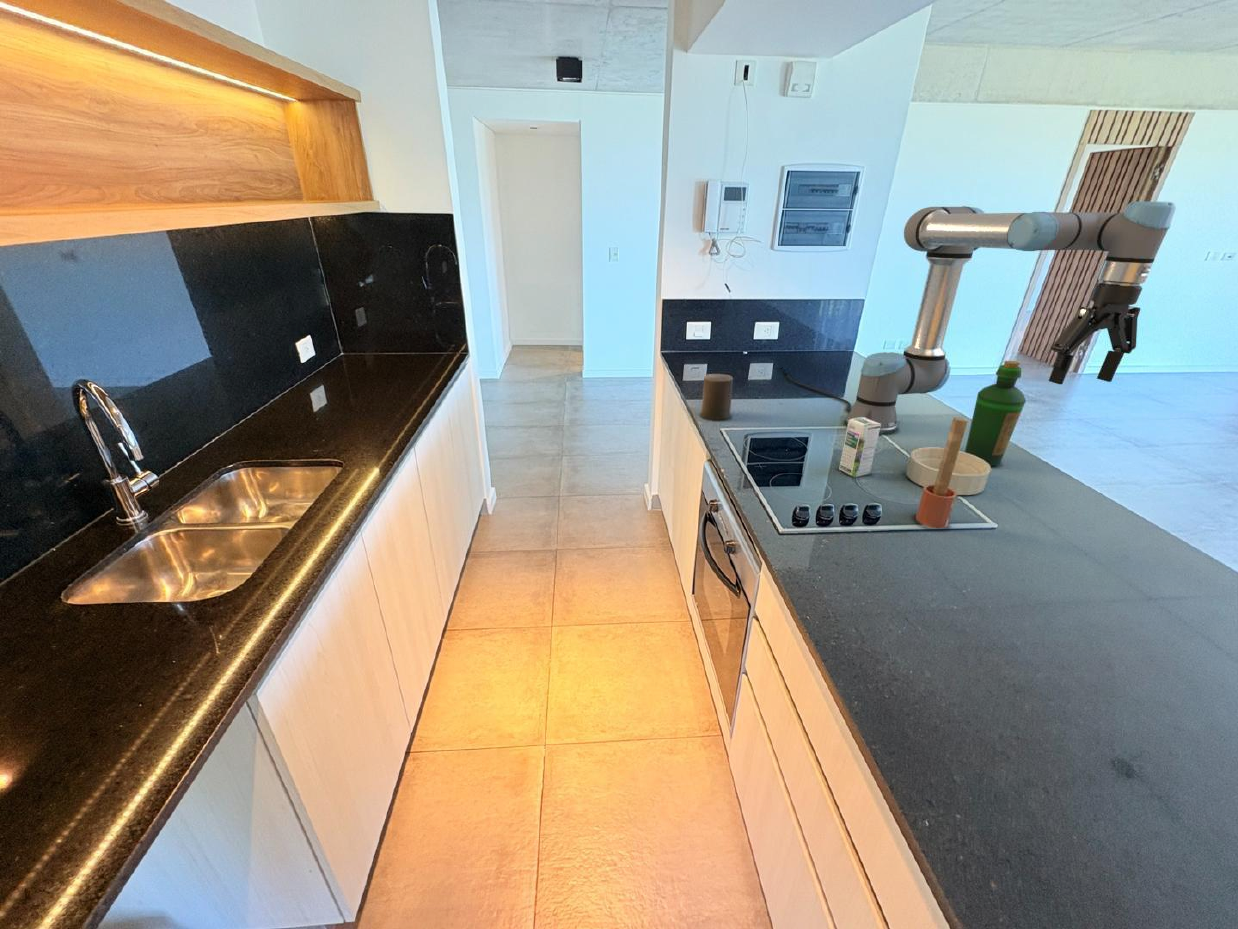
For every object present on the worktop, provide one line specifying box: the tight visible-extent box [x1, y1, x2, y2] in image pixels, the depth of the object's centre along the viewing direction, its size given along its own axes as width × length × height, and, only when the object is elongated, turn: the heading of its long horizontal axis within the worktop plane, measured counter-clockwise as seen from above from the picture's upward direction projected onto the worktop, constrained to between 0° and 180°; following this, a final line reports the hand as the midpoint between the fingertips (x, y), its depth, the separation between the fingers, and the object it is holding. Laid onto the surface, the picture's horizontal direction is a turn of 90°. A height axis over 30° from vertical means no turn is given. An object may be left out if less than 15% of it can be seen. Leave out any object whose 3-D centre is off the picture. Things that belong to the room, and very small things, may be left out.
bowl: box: [905, 446, 992, 496], centre depth 135 cm, size 18×18×6 cm
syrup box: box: [838, 417, 881, 478], centre depth 138 cm, size 6×6×14 cm
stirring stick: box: [932, 416, 968, 497], centre depth 112 cm, size 3×2×24 cm, turn 78°
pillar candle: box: [700, 373, 734, 422], centre depth 179 cm, size 10×10×15 cm
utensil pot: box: [915, 484, 958, 529], centre depth 116 cm, size 6×6×8 cm
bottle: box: [964, 360, 1027, 467], centre depth 142 cm, size 11×11×28 cm
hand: (1079, 381), depth 120 cm, fingers open, 13 cm apart
